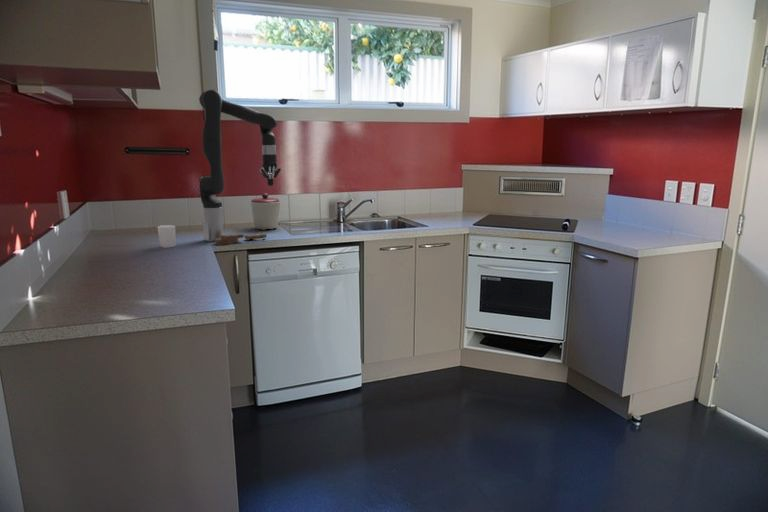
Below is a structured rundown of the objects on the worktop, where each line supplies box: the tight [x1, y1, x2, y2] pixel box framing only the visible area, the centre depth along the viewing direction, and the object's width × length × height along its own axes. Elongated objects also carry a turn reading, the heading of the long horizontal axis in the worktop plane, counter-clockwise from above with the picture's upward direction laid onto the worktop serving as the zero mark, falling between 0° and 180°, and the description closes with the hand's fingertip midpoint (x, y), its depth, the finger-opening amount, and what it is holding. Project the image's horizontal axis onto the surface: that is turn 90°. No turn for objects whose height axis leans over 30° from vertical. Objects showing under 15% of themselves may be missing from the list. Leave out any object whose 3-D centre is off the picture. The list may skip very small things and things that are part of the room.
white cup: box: [157, 224, 176, 249], centre depth 250 cm, size 8×8×10 cm
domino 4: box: [244, 232, 267, 240], centre depth 271 cm, size 2×5×10 cm
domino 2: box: [214, 238, 239, 244], centre depth 260 cm, size 2×5×10 cm
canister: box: [249, 193, 281, 231], centre depth 304 cm, size 18×18×21 cm
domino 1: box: [221, 233, 245, 240], centre depth 261 cm, size 2×5×10 cm
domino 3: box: [215, 240, 240, 246], centre depth 260 cm, size 2×5×10 cm
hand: (270, 185), depth 282 cm, fingers closed
